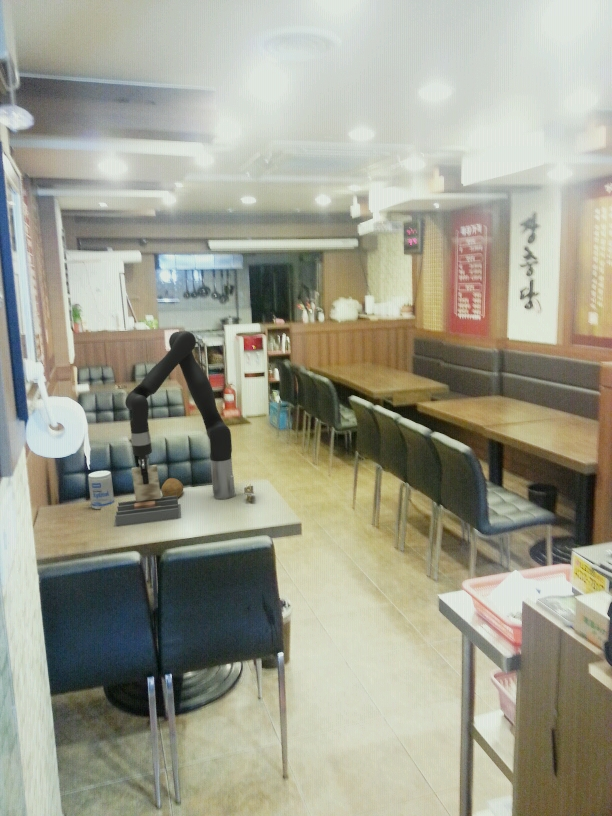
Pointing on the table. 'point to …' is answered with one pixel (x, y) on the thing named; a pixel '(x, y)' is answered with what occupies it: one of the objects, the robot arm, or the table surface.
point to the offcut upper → (144, 505)
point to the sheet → (146, 490)
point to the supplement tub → (100, 489)
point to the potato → (172, 488)
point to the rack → (148, 511)
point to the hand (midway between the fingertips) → (146, 482)
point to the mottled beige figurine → (248, 492)
